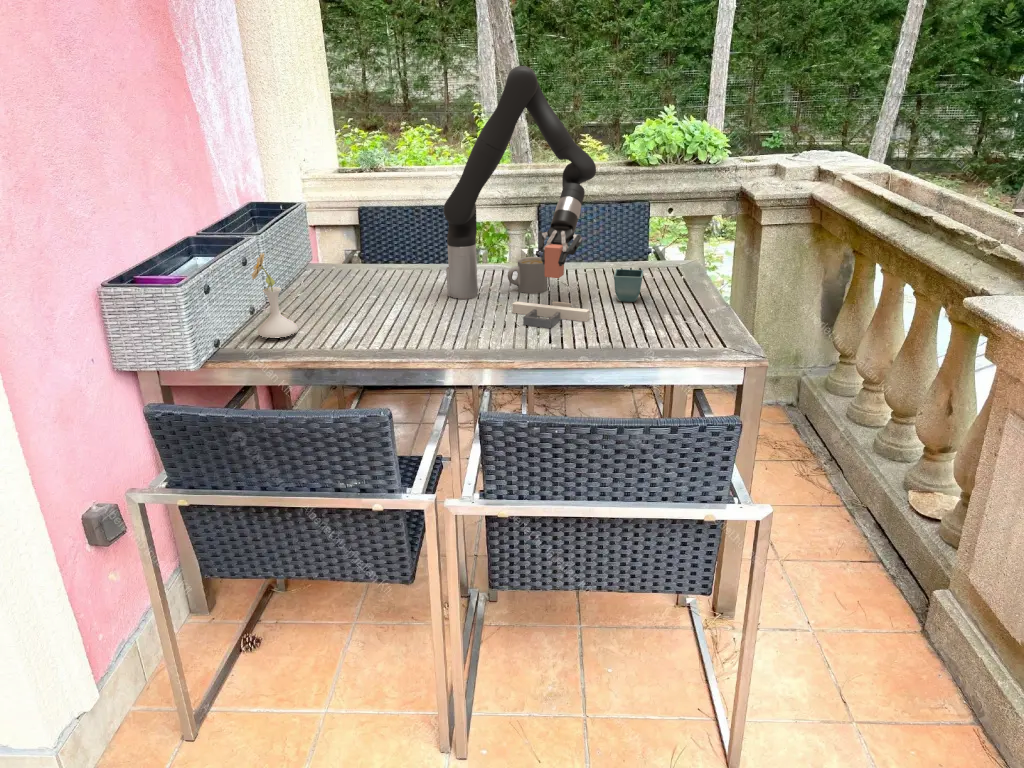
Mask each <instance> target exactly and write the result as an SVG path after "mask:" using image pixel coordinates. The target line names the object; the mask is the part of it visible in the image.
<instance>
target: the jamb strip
mask: <svg viewBox="0 0 1024 768" xmlns="http://www.w3.org/2000/svg"><path fill="white" fill-rule="evenodd" d="M551 303H552V304H549V305H548V304H543V303H542V304H541V303H534V302H533V303H532V302H524V301H514V302H513V303H512V305H511V306H512V308H511V310H512V314H516V313H517V315H524V314H525V315H527V314H528V313H529V312H531V311H532V310H534V309H535V310H537V317H540V318H550V317H551V316H553V315H554V314H555V313H556V312H560V320H566V319H567V320H569V321H577V322H584V323H585V322H586V323H587V322H588V321H589V320H590V309H586V308H579V307H577V308H576V307H572V303H571V302H570V303H569V302H564V301H562V302H561V301H552V302H551ZM525 315H524V316H525ZM567 320H566V321H567Z"/></svg>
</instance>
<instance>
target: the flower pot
mask: <svg viewBox="0 0 1024 768" xmlns="http://www.w3.org/2000/svg"><path fill="white" fill-rule="evenodd" d="M643 274H644V270H643V269H626V268H625V269H624V268H617V269H615V271H614V274H613V281H614V283H613V284H614V292H615V295H616V298H617V300H618V301H619V302H624V303H626V302H627V303H628V302H629V303H630V302H631V303H635V302H636V301H637V299H638V298H639V296H640V293H641V288H642V284H643V283H642V282H643V278H644V275H643Z"/></svg>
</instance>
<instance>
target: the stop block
mask: <svg viewBox="0 0 1024 768" xmlns="http://www.w3.org/2000/svg"><path fill="white" fill-rule="evenodd" d="M544 247H545V246H544ZM562 248H563V246H562V245H556V244H551V245H548V246H546V247H545V277H547V278H552V279H553V278H554V279H560V278H561V277H563V276H565V275H564V274H565V264H564V265H562V266H559V264H558V261H559V258H560V255H561V252H562Z"/></svg>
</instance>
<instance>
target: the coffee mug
mask: <svg viewBox="0 0 1024 768" xmlns="http://www.w3.org/2000/svg"><path fill="white" fill-rule="evenodd" d="M541 257H542V256H541ZM541 257H538V256H529V257H527V256H526V257H522V258H521V257H520V258H518V259H517V266H513V267H510V268H509V269H508V272H507V280H508V282H509V283H510V284H511V285H514V286H516V287H517V291H518V292H520V293H522V292H523V294H534V295H535V294H542V293H544V292H546V291H548V277H545V265H544V264H543V262H542V260H541ZM514 272H516V274H517V277H516V279H513V277H512V276H513V273H514Z"/></svg>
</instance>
